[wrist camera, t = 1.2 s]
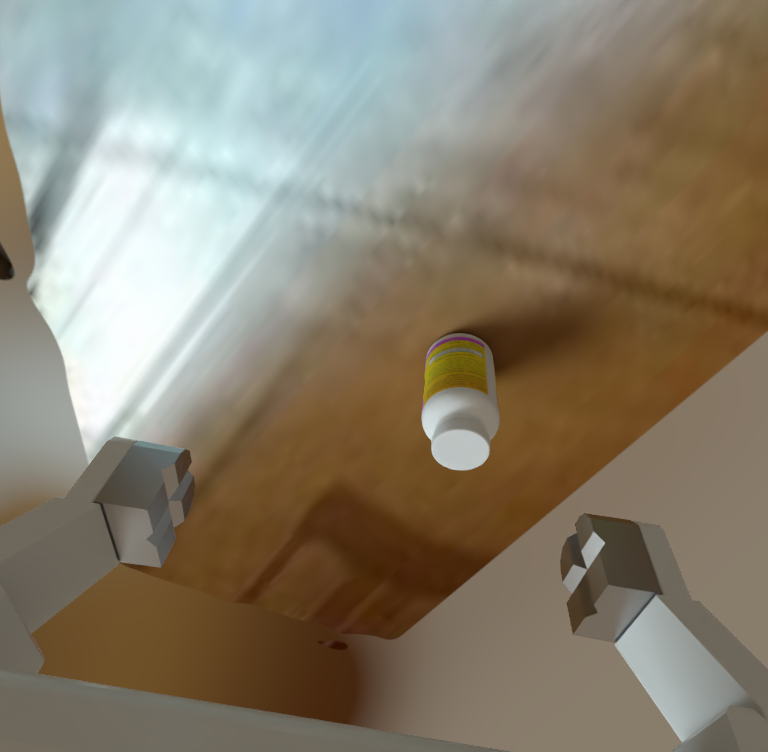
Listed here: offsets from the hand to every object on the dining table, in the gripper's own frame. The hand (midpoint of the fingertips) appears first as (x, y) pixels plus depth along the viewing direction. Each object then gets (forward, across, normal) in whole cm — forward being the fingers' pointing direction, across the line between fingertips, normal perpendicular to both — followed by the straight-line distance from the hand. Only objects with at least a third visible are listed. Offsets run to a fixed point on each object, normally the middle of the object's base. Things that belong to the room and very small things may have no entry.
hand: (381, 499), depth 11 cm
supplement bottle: (+36, -7, +20) cm, 42 cm away
